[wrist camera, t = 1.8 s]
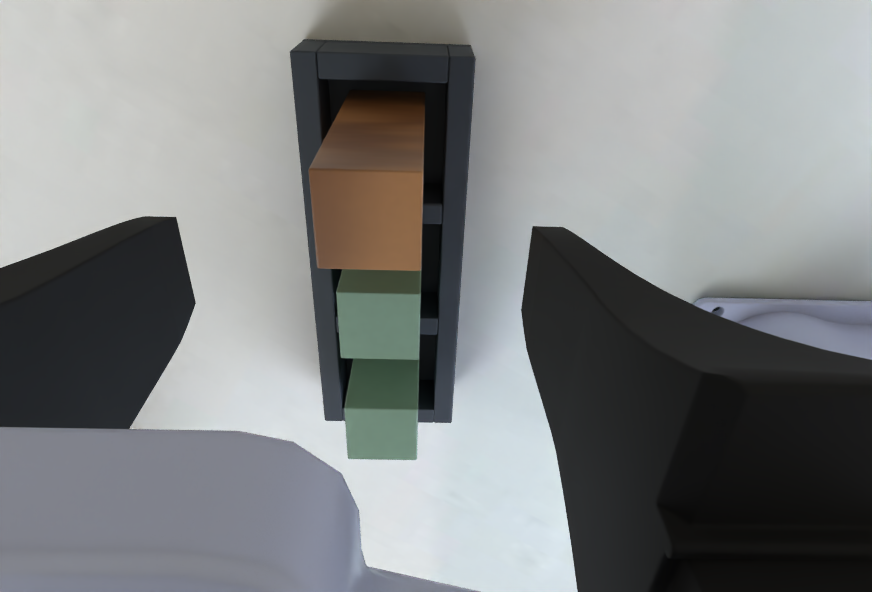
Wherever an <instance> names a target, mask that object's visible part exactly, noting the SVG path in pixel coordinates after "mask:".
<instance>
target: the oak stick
mask: <svg viewBox="0 0 872 592" xmlns="http://www.w3.org/2000/svg"><path fill="white" fill-rule="evenodd" d="M424 127H425V92H406V91H375V90H350V91H349V93H348V95H347V97H346V99H345V101H344V103H343V105H342V106H341V108H340V110H339V112H338V114H337V116H336V118H335V120H334V122H333V124H332V126H331V127H330V129H329V131H328V133H327V135H326V137H325V139H324V141H323V143H322V145H321V147H320V148H319V150H318V152H317V154H316V156H315V158H314V160H313V162H312V164H311V166H310V167H309V181H310V193H311V204H312V215H313V227H314V238H315V249H316V261H317V267H318V268H320V269H361V270H403V271H420V270H421V258H422V214H423V171H424Z"/></svg>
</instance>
